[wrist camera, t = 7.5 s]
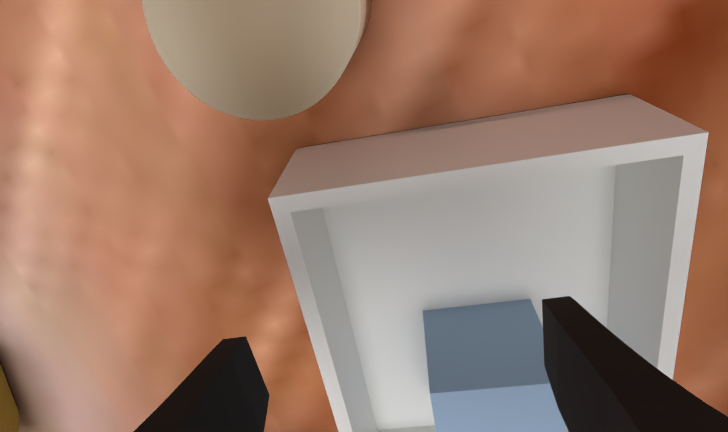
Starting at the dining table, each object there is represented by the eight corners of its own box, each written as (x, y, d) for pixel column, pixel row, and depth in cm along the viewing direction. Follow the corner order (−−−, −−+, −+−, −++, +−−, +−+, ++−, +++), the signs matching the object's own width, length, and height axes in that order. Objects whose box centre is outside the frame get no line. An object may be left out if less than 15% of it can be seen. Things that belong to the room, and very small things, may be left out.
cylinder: (356, -95, 16) (332, -145, 9) (381, 59, 18) (374, 102, 12) (216, -63, 16) (105, -89, 10) (256, 82, 18) (186, 135, 12)
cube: (530, 298, 22) (566, 382, 17) (532, 377, 24) (565, 469, 19) (422, 310, 22) (429, 393, 18) (434, 386, 24) (443, 477, 20)
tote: (629, 94, 18) (708, 132, 13) (608, 409, 25) (654, 502, 21) (296, 148, 20) (267, 198, 15) (369, 428, 27) (364, 517, 23)
